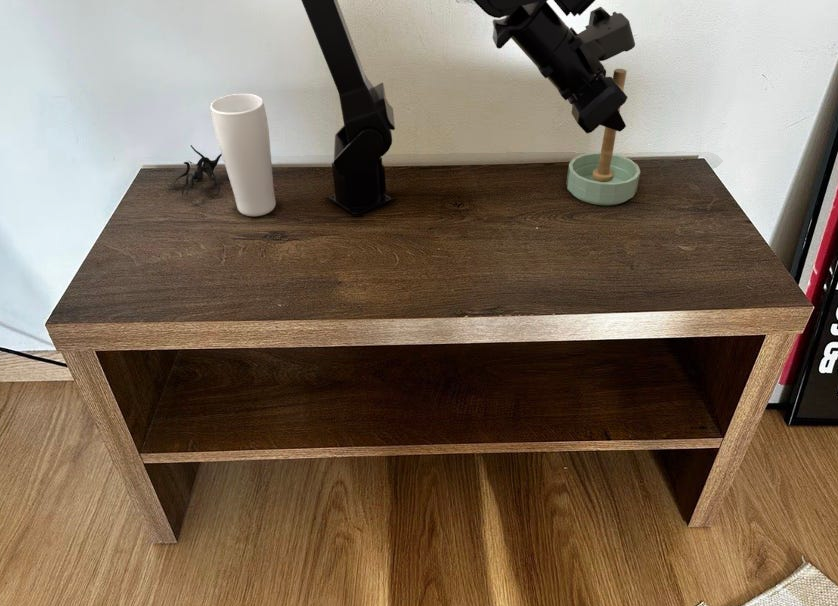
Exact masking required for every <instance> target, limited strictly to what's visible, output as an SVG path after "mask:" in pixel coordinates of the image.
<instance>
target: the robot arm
mask: <svg viewBox="0 0 838 606" xmlns="http://www.w3.org/2000/svg"><path fill="white" fill-rule="evenodd" d="M472 1H473V2H474V3H475V4H476V5H477V6H478V7H479V8H480V9H481V10H482V11H483V12H484V13H485V14H487V15H488V16H490V17H492V18H495V19H493V20H492V26H493V31H492V37H491V38H492V40H493V43H494V45H495V47H496V48H497V49H499V50H500V49H502V48H503V47H504V46H505V45H506V44H507V43H508V42H509V41H510V40H512V41H513V42H514V43H515V44H516V45H517V47H518V48H520V50H521V51H522V52H523V53H524V54H525V56H526V57H528V58H529V60H530V61H532V63H533V64H534V65H535V66H536V68H537V69H538V71H539V73H540V74H541V75H542V76H543V77H544V79H547V80H548V81H549V82H550V83H551V84H552V85H553V86H554V87H555V89H557V91H558V94H559V95H560V96H561V97H562V99H564V100H565V101H568V103H569V104H570V105H572V106H571V115H572V116H573V118H574V120H575V122H576V124H577V125H578V126H579V127H580V128H581V130H582V131H584V133H585V134H590V133H592V132H594V131H595V130H596V129H597V128H599V127H600V126H601V127H604V128H605V127H607V128H610V129H613V130H616V132H622V131H623V130H624V129H625V128H626V127H627V125H626V122H625V120H624V119H623V117H622V115H621V111H620V112H619V110H618V108H620V109H621V107H622V106H623V105H624V104H625V103H626V102H627V100H628V95H627V94H626V92H624V90H622V89H621V88H620V87H619V86H618V84H617V83H616V82H615V81H614V79H613V76H607V70H606V68H605V65H603V63H602V62H604V61H607V60H609V59H611V58H613V57H616V56H617V55H620V54H621V53H624V52H625V53H626V52H629V51H631V50H633V49H634V48H635V47H636V42H635V38H634V35H633V29H632V27H631V23H630V20H629V19H628V18H627V17H626V16H625V15H624V14H623V12H617V11H613V12H612V14H609V12H608V11H606V10H605V8H603V7H602V6H598V7H597V8H595V9H593V10H591V11H590V14H589V18H588V24H587V25H585V29H584V30H582V31H580V32H578V33H577V32H576V30H575V29H574V28H573V26H570V27H569V26H568V25H567V24H566V23H565V21H563V20H562V18H561V17H560V15H558V14H557V12H556V11H555V9H554V8H553V7H551V5H550V4H549V3H548V1H549V0H472ZM553 2H554V3H555V4H556V6H557V7H558V8H559V9H560V10H561V12H562V13H563V14H564V15H565V16H566V17H568V16H569V15H570V14H571V15H572V16H573V17H576V16H577V15H578V16H579V17H581V15H583V13H584V12H585V11H587V10H588V8H590V6H591V5H592V4H594V2H596V0H553ZM301 3H302V5H303V7H304V11H305V13H306V15H307V18H308V20H309V23H310V25H311V28H312V30H313V33H314V35H315V38H316V40H317V43H318V46H319V48H320V50H321V53H322V55H323V58H324V60H325V62H326V65H327V68H328V70H329V72H330V75H331V77H332V79H333V83H334V85H335V88H336V90H337V92H338V97H339V102H340V109H341V114H342V120H343V126H342V127H341V128H340V129H339V130H337V132H336V133H335V134H334V147H333V148H334V149H333V162H331V169H332V178H333V188H334V194H332V195H330V196H329V201H330V202H332V203H333V204H334V205H335V206H338V207H339V208H341V209H342V210H343V211H345V212H347V213H349V214H350V215H352V216H353V217H358V216H361V215H363V214H367V213H368V212H371V211H372V210H375V209H378V208H380V207H382V206H385V205H387V204H389V203H392V198H391V197H390V196H388V195H387V194H386V192H387V186H386V185H387V184H386V183H387V182H386V167H385V166H384V165H383V156H385V155H386V154H387V153H388V152H389V150H390V148H391V147H392V144H393V134H392V131H395V129H396V126H395V117H394V108H393V107H392V106H391V104H390V103H389V101H388V99H387V97H386V91H385V85H384V83H383V82H379V83H378V84H377V85H375V86H374V85H373V83H371V80H369V78H368V76H366V74H365V71H364V68H363V66H362V62H361V60H360V58H359V55H358V52H357V49H356V47H355V43H354V41H353V39H352V36H351V32H350V30H349V28H348V25H347V23H346V19H345V16H344V15H343V12H342V8H341V7H340V3H339V1H338V0H301Z"/></svg>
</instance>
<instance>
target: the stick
mask: <svg viewBox="0 0 838 606" xmlns="http://www.w3.org/2000/svg"><path fill="white" fill-rule="evenodd" d="M627 72H628V71H627V70H626V69H625V68H615V69H614V70H613V75H612V78H613V79H614V81H615V82H616V83H617V84H618V86H619V87H620V88H621V89H622V90H623V91H624V89H625V85H626V84H625V83H626V78H627ZM618 110H619V112H620V113H621V107H620V108H618ZM616 135H617V131H616V130H613V129H610V128H607V127H605V126H604V130H603V137H602V143H601V150H600V153H601V155H600V161H599V167H598V168H596V169H594V170H593V173H592V178H593V179H594V180H596V181H599V182H609V181H611V180H613V178H614V172H613V171H612V170H610V165H611V160H612V154H614V149H615V148H614V147H615V141H616Z"/></svg>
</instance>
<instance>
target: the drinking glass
mask: <svg viewBox="0 0 838 606" xmlns="http://www.w3.org/2000/svg"><path fill="white" fill-rule="evenodd" d="M264 101H265V100H264V99H263V98H262V97H261V96H258V95H255V94H251V93H233V94H228V95H225V96H221V97H218V98H216V99H215V100H213V101H212V102H211V104H210V106H209V107H210V114H211V118H212V119H211V120H212V123H213V124H212V125H213V130H214V133H215V137H216V141H217V144H218V148H219V151H220V154H222V156H221V157H222V160H223V163H224V167H225V170H226V173H227V176H228V180H229V183H230V186H231V189H232V193H233V197H234V200H235V206H236V209H237V211H238V212H239V213H240V214H242V215H243V216H246V217H253V218H254V217H261V216H265V215H268V214H270V213H271V212H273V211H274V209H275V208H276V205H277V201H276V195H275V186H274V175H273V162H272V150H271V137H270V136H271V135H270V128H269V121H268V116H267V112H266V111H267V110H266V107H265V106H266V105H265V102H264Z"/></svg>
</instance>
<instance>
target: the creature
mask: <svg viewBox="0 0 838 606" xmlns="http://www.w3.org/2000/svg"><path fill="white" fill-rule="evenodd" d="M190 147H191V149H192V150H193V151H194V153H196V154H197V155H198V156H200V157H201V158H200V159H199V160H198V161H197V163H196V164H195V163H193V162H191V160H188V161H184V162H183V165H186V170H185V171H184V172H183V173H182V174H181V175H179V176H178V177H177V178H176V179H175V180H174V181H173V188H174V189H175V190H180V189H181V196H183V195H184V190H185V188H186V192H185V196H186V197H187V196H188V193H189V189H190V188H193V187H194V186H195V184H194V183H195V181H196V182H201V181H202V180H204V173H205V174H206V175H207V177H208V178H209V179H210V180H211V181H212V182H213V183H214V184H213V186H212V187H211V188H205V189H204V190H205V191H207V192H208V194H209V196H210V197H212V198H213V197H215V196H217V195H218V194H219V193H220V191H221V186H220V184H219V182H218V181H217V179H216V176H215V173H214V170H215V168H216V167H217V166H218V164H219V161H220V158H221V157H222V154H221V153H220V154H219V155H217V157H215V159H213V160H212V159H210V158H209V157H208V156H204V155H203V154H202V153H201V152H199V151H198V150H196V148H195V147H194V146H193V145H191V144H190ZM193 165H194V166H196V170H195V169H193V170H194V174H191V173H190V170H191V166H193ZM190 176H191V178H190ZM183 177H185V184H183V185H182V187H176V186H175V185H176V182H177V181H178V180H179V179H181V178H183ZM189 178H190V185H189ZM215 186H217V188H218V189H217V192H216V194H214V195H211V192H210V191H209V190H210V189H213V188H214V187H215Z"/></svg>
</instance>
